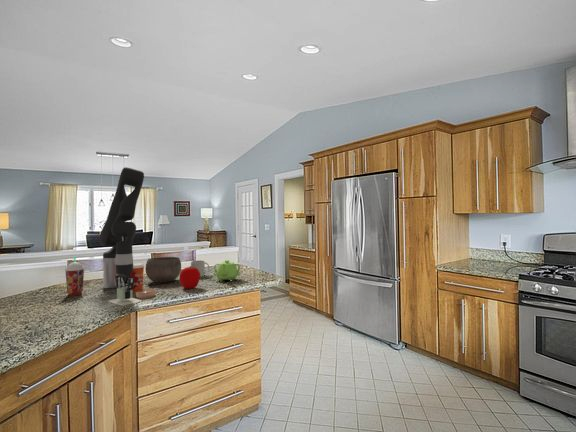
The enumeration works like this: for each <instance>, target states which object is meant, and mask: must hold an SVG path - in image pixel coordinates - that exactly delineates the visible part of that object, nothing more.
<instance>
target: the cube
mask: <svg viewBox="0 0 576 432" xmlns="http://www.w3.org/2000/svg"><path fill="white" fill-rule="evenodd" d="M130 298H134V297H133V292H132V290H131V291H130ZM116 299H120V300H125V288H124V287H120V288H117V287H116Z"/></svg>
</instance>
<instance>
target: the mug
mask: <svg viewBox="0 0 576 432" xmlns="http://www.w3.org/2000/svg"><path fill="white" fill-rule="evenodd" d="M205 265H206V266H207V270H206V271H205V267H206V266H205ZM190 266H191V267H196V268H197V269H198V270H199V272H200V278H203V277H205V276H204V275H205V274H207V273H209V271H210V264H209V263H207V262H205V260H192V261H190ZM202 276H203V277H202Z"/></svg>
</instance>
